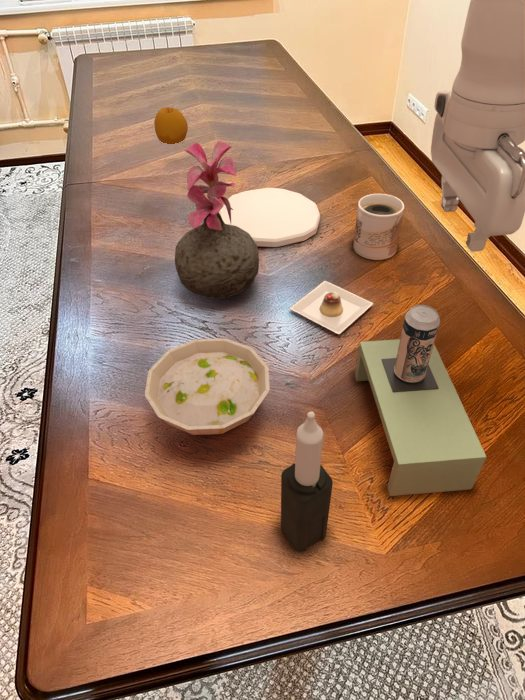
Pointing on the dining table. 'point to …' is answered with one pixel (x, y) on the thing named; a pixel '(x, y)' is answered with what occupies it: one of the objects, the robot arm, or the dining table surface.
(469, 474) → the shelf
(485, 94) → the robot arm
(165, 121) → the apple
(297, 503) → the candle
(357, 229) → the mug
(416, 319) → the beer can
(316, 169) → the dining table surface
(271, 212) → the decorative plate
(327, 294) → the dessert
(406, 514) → the dining table surface
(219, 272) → the vase
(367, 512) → the dining table surface
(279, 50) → the dining table surface
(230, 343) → the bowl
